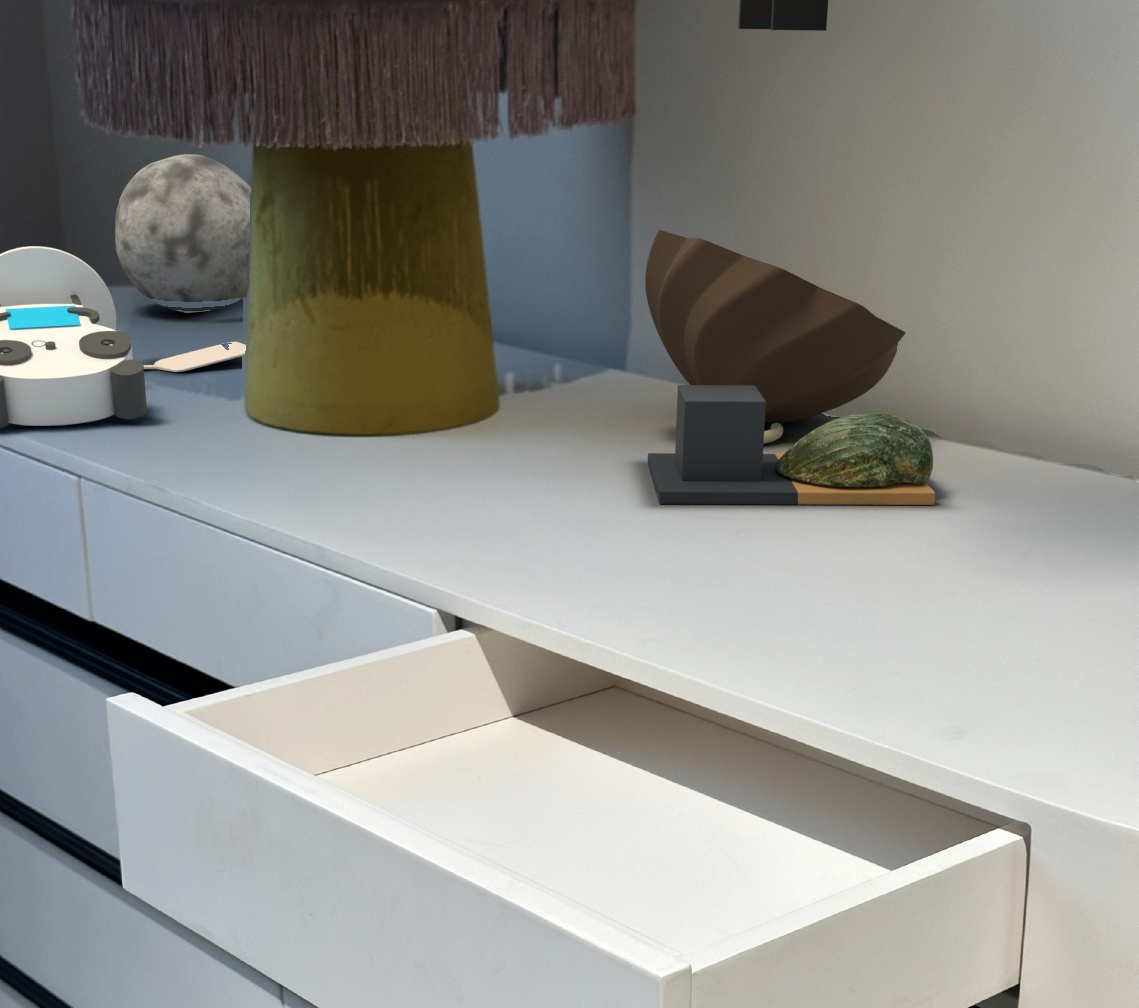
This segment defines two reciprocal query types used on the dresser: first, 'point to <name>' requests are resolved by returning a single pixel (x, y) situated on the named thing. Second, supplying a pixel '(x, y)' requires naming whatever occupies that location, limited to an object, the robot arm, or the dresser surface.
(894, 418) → the seashell
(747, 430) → the slate block
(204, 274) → the moon lamp
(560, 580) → the dresser surface
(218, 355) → the spatula
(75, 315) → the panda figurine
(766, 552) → the dresser surface
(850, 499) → the sorting mat
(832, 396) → the brown fluted bowl
